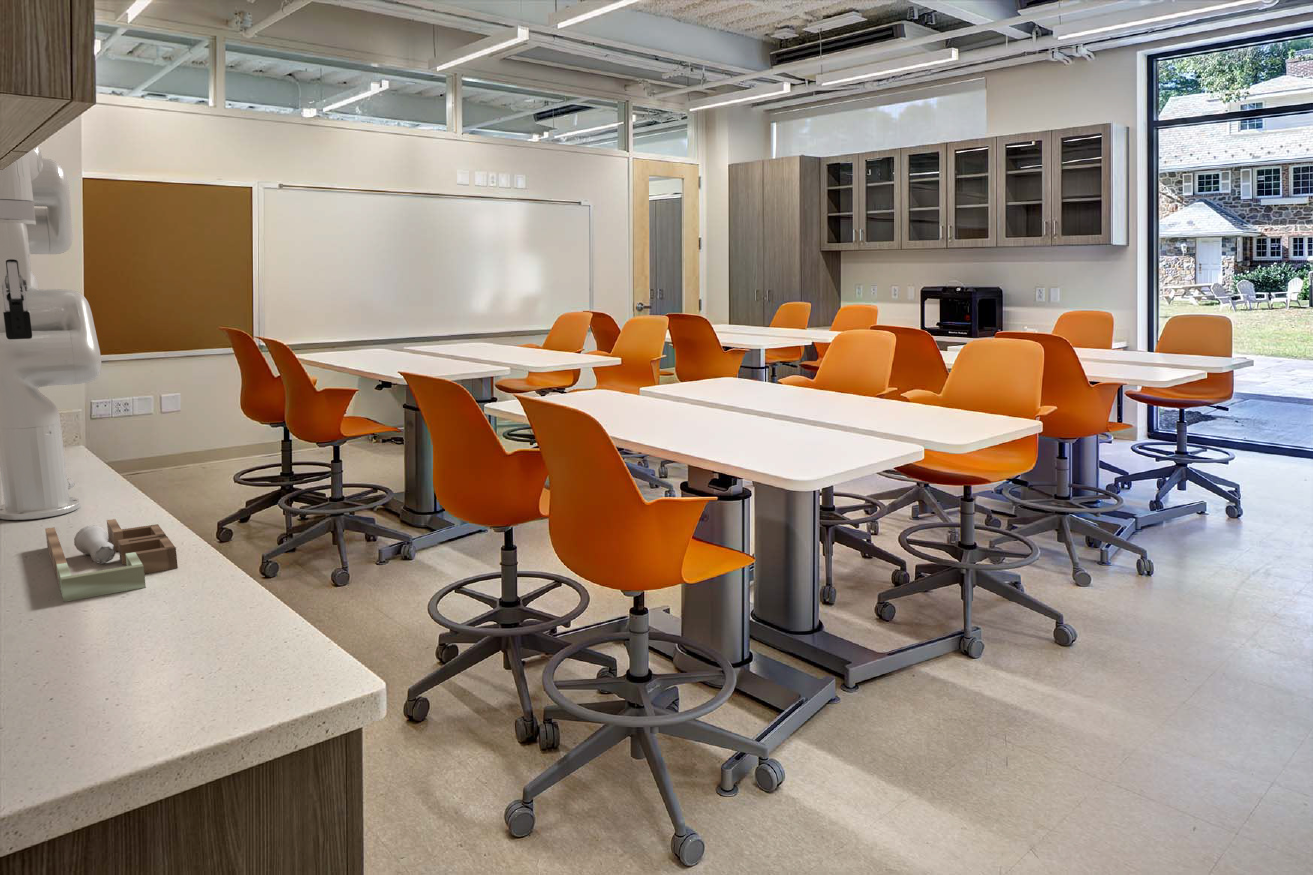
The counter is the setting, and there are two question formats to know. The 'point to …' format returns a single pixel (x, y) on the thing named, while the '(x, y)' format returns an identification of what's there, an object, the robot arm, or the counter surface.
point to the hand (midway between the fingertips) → (19, 338)
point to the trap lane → (136, 549)
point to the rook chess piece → (95, 544)
